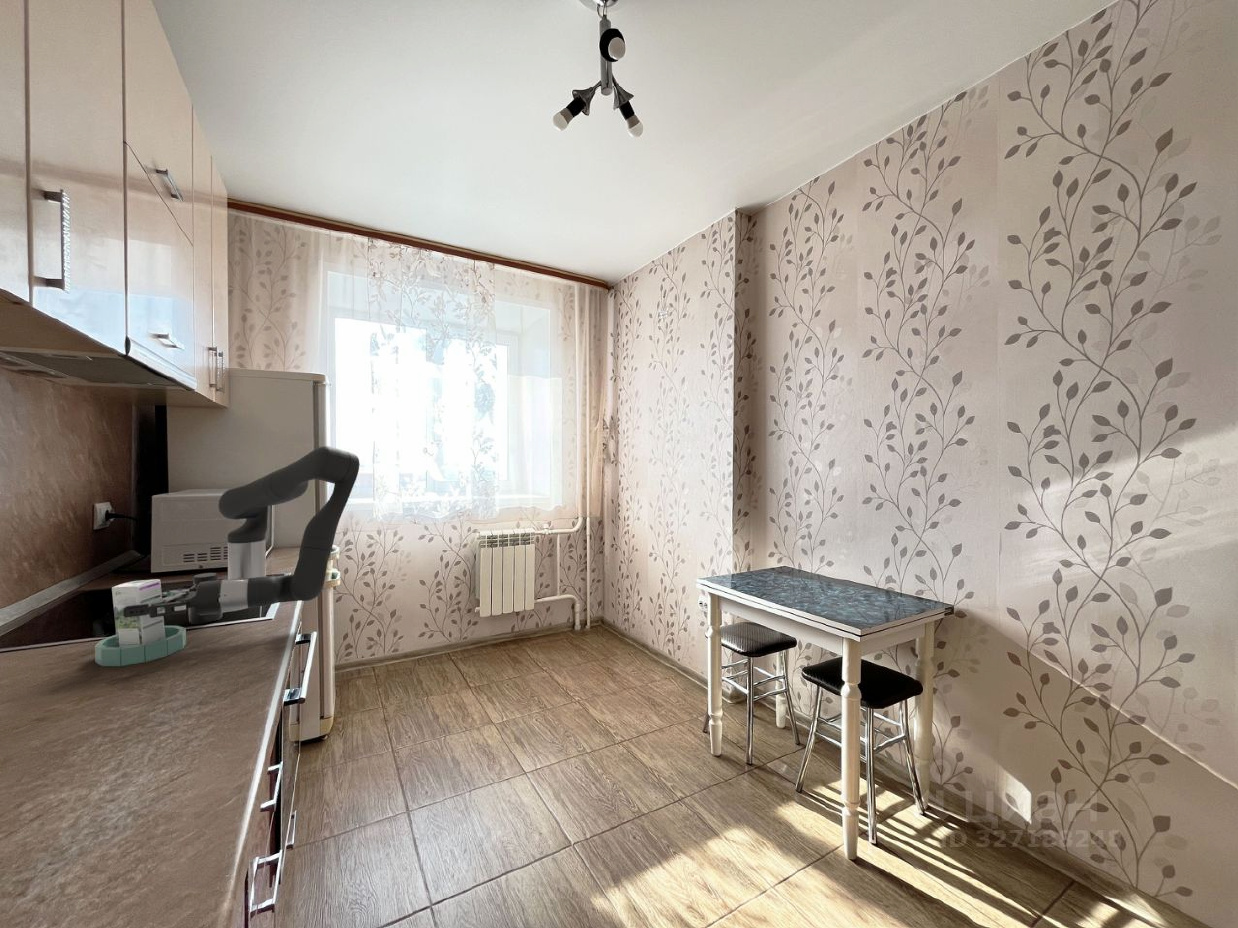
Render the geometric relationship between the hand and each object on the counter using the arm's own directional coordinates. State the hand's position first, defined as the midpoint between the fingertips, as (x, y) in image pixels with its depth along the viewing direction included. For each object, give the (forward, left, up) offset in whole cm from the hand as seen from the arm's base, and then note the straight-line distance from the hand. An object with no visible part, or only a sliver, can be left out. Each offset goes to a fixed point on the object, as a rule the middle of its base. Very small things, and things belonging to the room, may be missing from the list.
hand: (130, 606), depth 109 cm
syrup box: (0, +2, -9) cm, 10 cm away
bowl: (0, +2, -10) cm, 11 cm away
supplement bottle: (-20, +10, -11) cm, 25 cm away
